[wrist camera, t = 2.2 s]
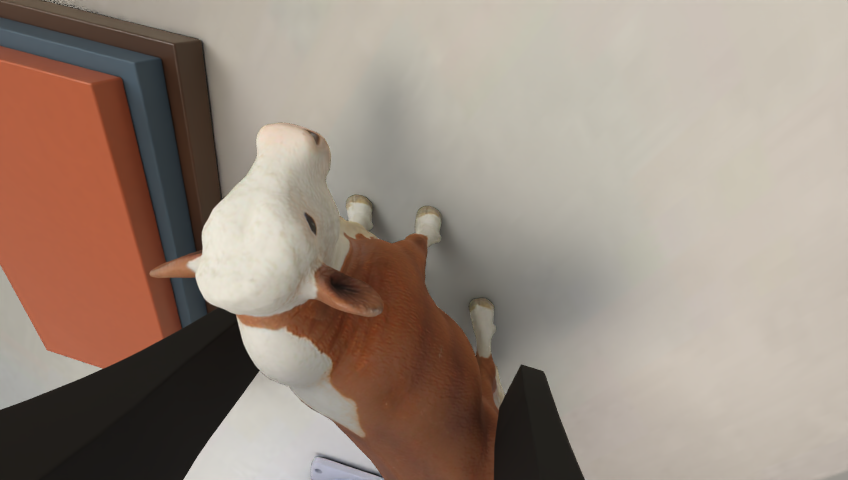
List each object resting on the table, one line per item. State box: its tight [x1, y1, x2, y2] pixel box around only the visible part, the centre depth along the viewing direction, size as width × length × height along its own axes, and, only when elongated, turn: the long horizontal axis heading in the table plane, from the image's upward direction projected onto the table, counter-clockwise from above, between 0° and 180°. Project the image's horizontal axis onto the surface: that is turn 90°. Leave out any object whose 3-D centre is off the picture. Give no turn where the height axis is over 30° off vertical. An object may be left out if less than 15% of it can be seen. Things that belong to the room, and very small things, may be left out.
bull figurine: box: [150, 123, 505, 480], centre depth 12 cm, size 4×13×8 cm, turn 22°
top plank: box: [0, 46, 182, 369], centre depth 15 cm, size 14×7×1 cm, turn 169°
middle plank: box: [0, 17, 207, 328], centre depth 16 cm, size 15×8×1 cm, turn 169°
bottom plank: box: [0, 0, 221, 314], centre depth 17 cm, size 16×9×1 cm, turn 169°
